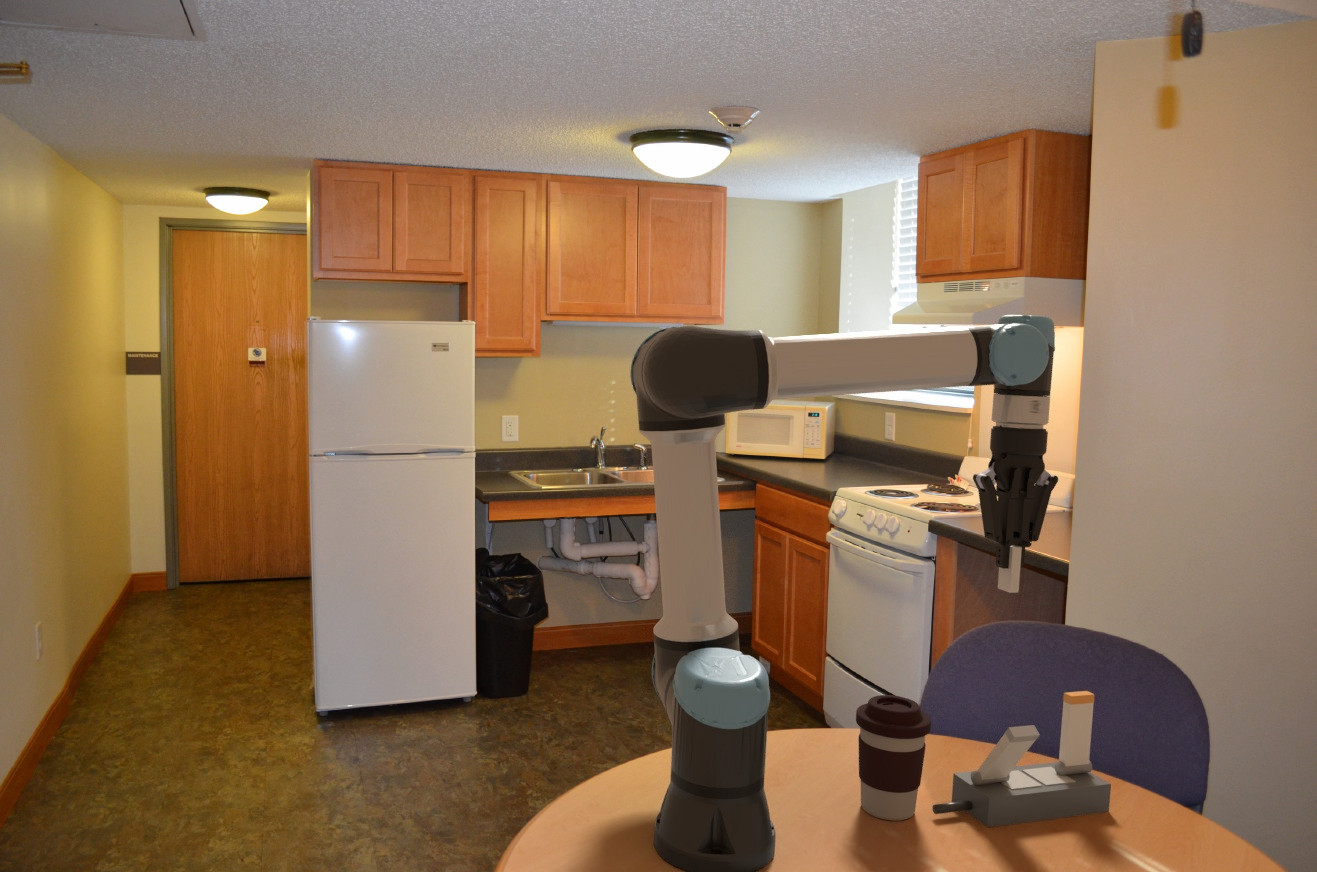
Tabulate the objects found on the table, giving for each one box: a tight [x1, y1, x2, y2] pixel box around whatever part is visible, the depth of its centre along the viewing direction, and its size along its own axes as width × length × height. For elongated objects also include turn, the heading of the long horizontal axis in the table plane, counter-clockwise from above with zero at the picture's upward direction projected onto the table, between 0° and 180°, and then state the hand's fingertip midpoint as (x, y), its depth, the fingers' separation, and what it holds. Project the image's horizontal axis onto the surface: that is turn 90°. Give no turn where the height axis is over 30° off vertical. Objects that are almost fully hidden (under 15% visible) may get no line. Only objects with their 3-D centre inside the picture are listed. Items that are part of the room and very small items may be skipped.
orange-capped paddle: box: [1055, 690, 1095, 775], centre depth 137 cm, size 5×2×12 cm, turn 108°
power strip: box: [931, 761, 1112, 828], centre depth 135 cm, size 26×8×4 cm, turn 108°
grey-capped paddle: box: [971, 724, 1041, 785], centre depth 130 cm, size 5×2×12 cm
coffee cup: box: [855, 694, 932, 821], centre depth 132 cm, size 10×10×15 cm
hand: (1007, 590), depth 138 cm, fingers closed
